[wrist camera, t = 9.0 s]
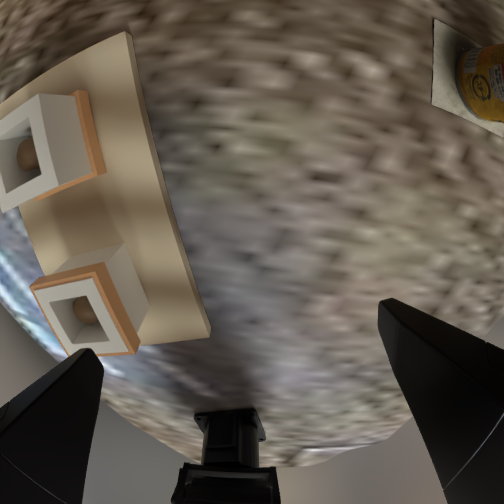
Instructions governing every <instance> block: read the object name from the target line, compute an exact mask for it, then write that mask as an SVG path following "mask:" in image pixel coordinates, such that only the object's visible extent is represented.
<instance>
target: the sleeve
mask: <svg viewBox="0 0 504 504" xmlns="http://www.w3.org/2000/svg"><path fill="white" fill-rule="evenodd" d="M32 138H33V140H34V145H35V149H36V153H37V158H38V162H39V166H40V168H36V169H33V170H30V171H24V170H22V169H21V168H20V167H19V165H18V162H17V149H18V147H19V145H20V143H21V142H22V141H24V140H26V139H32ZM104 173H107V172H106V169H105V165H104V161H103V158H102V154H101V150H100V146H99V142H98V138H97V134H96V129H95V125H94V121H93V116H92V111H91V107H90V102H89V96H88V91H82V90H77V91H75V92H73V93H71V94H69V95H68V96H67V95H55V94H40V93H38V94H37V95H35V96H34V97H32V98H31V99H29V100H28V101H26V102H25V103H23V104H22V105H21V106H19V107H18V108H16V109H15V110H14V111H12V112H11V113H9V114H8V115H7V116H5V117H4V118H3V119H2V120H0V207H1V210H2V213H4V212H6V211H8V210H10V209H12V208H14V207H16V206H18V205H20V204H22V203H24V202H27V201H29V200H31V199H33V198H34V199H35V202H37V201H39V200H41V199H43V198H46V197H48V196H50V195H52V194H55V193H57V192H59V191H62V190H64V189H66V188H69V187H71V186H73V185H76V184H78V183H81V182H83V181H86V180H88V179H91V178H94V177H96V176H99V175H101V174H104Z"/></svg>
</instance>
